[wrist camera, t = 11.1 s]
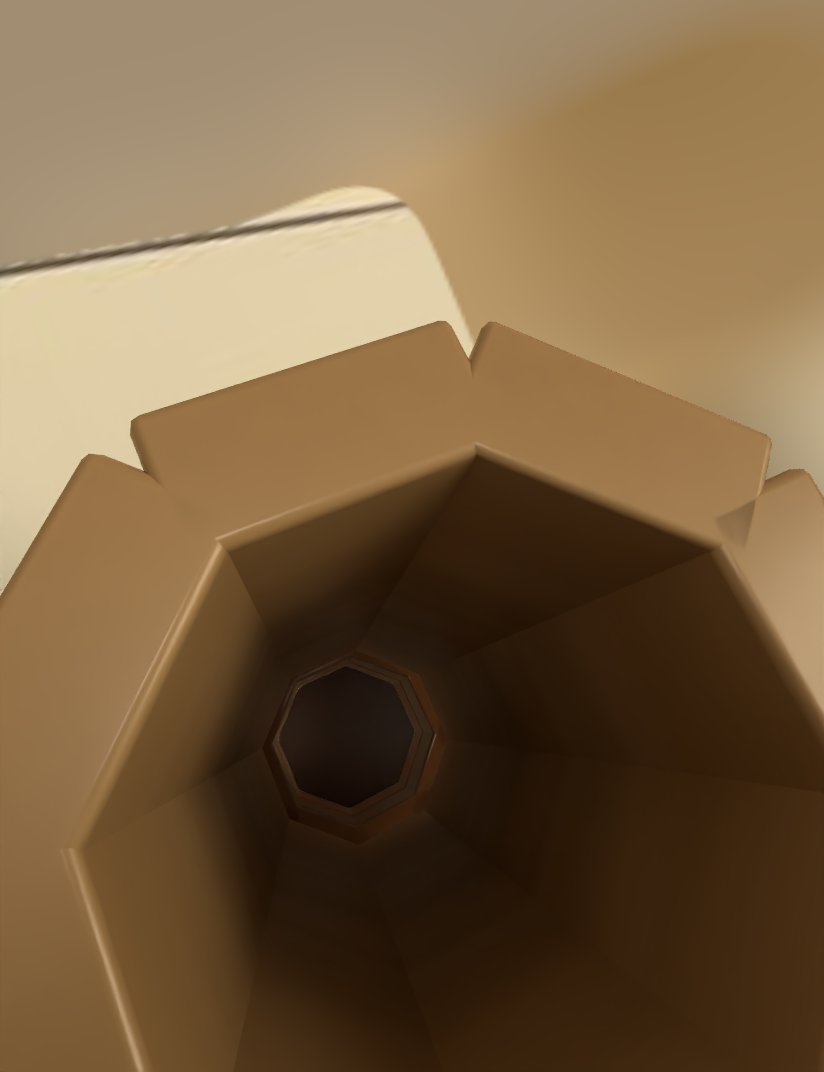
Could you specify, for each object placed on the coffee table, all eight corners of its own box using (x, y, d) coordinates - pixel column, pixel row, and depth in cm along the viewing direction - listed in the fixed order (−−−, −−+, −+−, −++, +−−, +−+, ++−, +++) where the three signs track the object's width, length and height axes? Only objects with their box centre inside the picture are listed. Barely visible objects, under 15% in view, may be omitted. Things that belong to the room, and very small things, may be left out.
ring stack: (524, 646, 21) (561, 633, 18) (439, 945, 18) (465, 992, 15) (266, 549, 20) (259, 519, 17) (138, 839, 18) (101, 865, 14)
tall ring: (522, 807, 15) (1195, 1085, 4) (283, 939, 13) (129, 2148, 2) (417, 579, 16) (672, 242, 5) (186, 678, 15) (-252, 532, 3)
